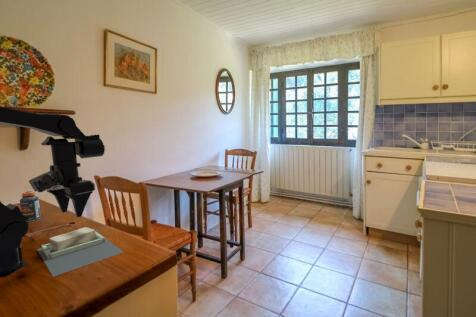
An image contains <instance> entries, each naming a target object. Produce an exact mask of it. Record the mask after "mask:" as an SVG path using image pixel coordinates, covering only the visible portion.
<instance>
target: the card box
mask: <svg viewBox="0 0 476 317" xmlns="http://www.w3.org/2000/svg"><path fill="white" fill-rule="evenodd" d="M95 231H96V229H94V228H90V227H88V226H85V227H80V228H78V229H75V230H72V231H69V232H66V233H65V232H64V233H62V234H58V235H56V236H52V237H49V238H48V239H49V243H50V249H51V251H53V252H56V251H59V250H63V249H66V248H70V247H73V246H76V245H80V244H83V243H87V242H90V241H93V240H96V233H95Z"/></svg>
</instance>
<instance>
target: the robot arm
mask: <svg viewBox="0 0 476 317" xmlns="http://www.w3.org/2000/svg"><path fill="white" fill-rule="evenodd" d="M0 124H1V125H2V124H3V125H9V126H14V127H15V126H16V127H22V128H28V129H31V130H35V131H37V132H39V133H43V134H45V135H49V136H47V137H46V138H45V139H44V140H43V141H42V142H41V144H40V145H41V146H50V151H51V159H52V164H50V166H49V167H48V168H49V171H47V172H44V173H42V174H40V175H37V176H36V177H34V178H31V179H29V180H28V182H29V185H30V186H31V188H32V189H33V191H35V192H38V193H43V192H45V191H46V192H47V193H49V194H51V195H53V197H54V199H55V200H56V202H57V204H58V207H59V208H60V211H61V212H62V213H67V211H68V207H69V205H70V204H69V202H70V200H71V202H72V206H73V210H74V212H75V216H76V218H79V217H82V216H83V213H84V211H85V208H86V205H87V203H88V202H89V201H88V200H89V199H90V197H91V195H92V194H93V192H94V191H96V186H95V182H93V180H87V179H83V177H81V176H80V174H79V167H81V162H78V158H77V157H79V158H80V159H90V158H98V157H102V156H104V155H105V151H106V149H105V148H106V146H105V145H104V142H103V141H102V139H101V138H100V137H101V136H100V134H91V135H85V134H84V133H83V131H82V130H81V129H80V128H79V127H78V126H77V123H76V121H75V119H74V118H73V117H72V116H70V115H68V114H58V113H57V114H55V113H48V114H47V113H35V112H29V111H24V110H20V109H13V108H8V107H3V106H0ZM54 137H61V138H54ZM69 140H74V141H69ZM28 219H29V218H27V217H25V216H24V215H23V214H22V213H21V208H19V206H18V205H15V204H12V203H8V204H6V205H5V204H4V203H3V202H1V201H0V278H6V277H8V276H10V275H12V274H14V273H15V272H17V271H18V270H20V269H22V268H23V267H25V266H27V265H28V264H29V263H28V262H23V253H22V247H21V244H22V240H23V237H25V234H28V230H29V227H30V226H29V222H27V221H26V220H28Z"/></svg>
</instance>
